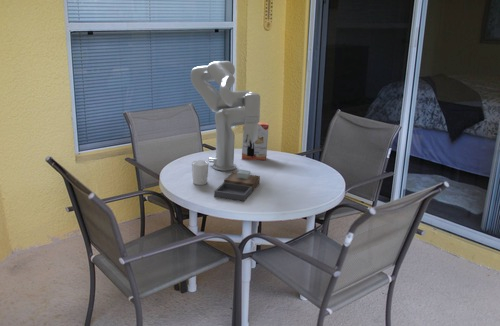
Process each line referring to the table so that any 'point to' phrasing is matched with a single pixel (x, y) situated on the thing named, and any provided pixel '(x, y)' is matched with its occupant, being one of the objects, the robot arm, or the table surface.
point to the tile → (243, 174)
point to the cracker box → (258, 144)
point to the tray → (233, 192)
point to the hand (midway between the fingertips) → (250, 155)
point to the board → (243, 180)
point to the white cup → (200, 172)
